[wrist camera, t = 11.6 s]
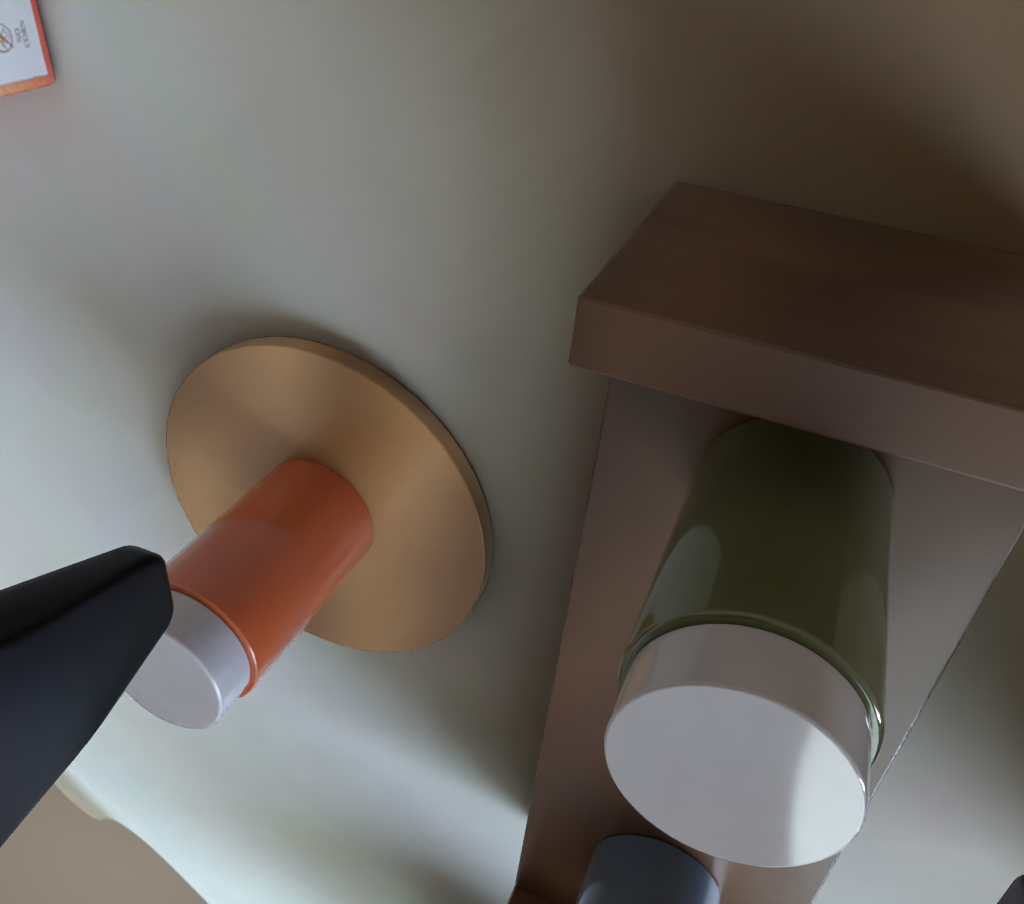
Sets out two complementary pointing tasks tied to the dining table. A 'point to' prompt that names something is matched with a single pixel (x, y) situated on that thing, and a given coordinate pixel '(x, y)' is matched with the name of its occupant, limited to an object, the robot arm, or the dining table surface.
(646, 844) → the cylinder
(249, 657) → the terracotta shaker
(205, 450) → the cork trivet
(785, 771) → the cylinder
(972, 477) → the spice shelf
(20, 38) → the cracker box
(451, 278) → the dining table surface
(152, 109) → the dining table surface
